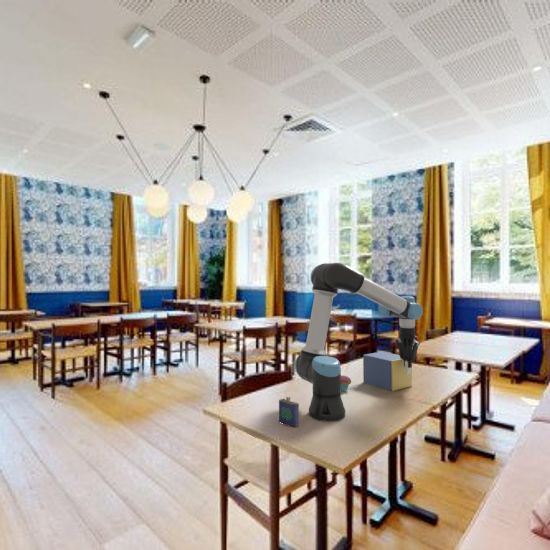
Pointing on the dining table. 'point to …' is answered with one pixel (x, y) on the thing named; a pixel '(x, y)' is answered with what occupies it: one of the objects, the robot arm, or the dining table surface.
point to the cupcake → (345, 382)
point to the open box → (378, 369)
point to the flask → (289, 412)
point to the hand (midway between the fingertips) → (407, 373)
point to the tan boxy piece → (400, 375)
